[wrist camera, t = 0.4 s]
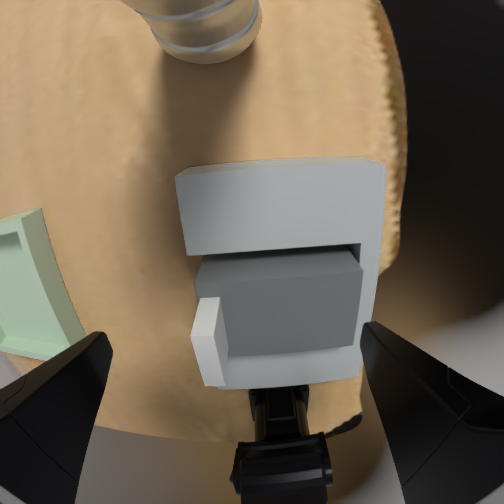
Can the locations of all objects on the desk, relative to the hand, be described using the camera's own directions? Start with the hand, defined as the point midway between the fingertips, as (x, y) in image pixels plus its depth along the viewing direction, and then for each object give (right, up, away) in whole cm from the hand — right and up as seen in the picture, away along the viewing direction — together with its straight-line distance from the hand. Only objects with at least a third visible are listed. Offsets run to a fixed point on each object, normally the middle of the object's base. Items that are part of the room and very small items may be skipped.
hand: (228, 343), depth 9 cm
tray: (-25, -1, +15) cm, 29 cm away
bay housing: (+2, +1, +14) cm, 14 cm away
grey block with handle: (+3, +1, +14) cm, 14 cm away
